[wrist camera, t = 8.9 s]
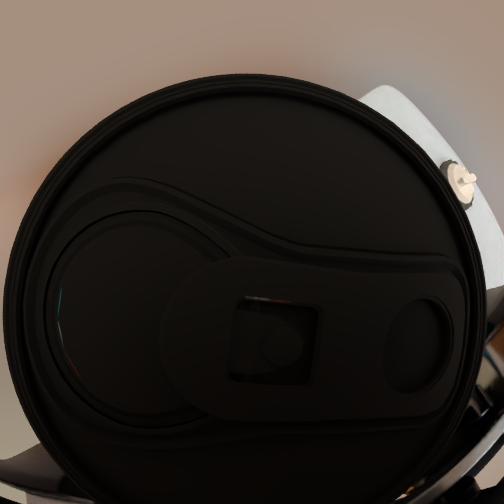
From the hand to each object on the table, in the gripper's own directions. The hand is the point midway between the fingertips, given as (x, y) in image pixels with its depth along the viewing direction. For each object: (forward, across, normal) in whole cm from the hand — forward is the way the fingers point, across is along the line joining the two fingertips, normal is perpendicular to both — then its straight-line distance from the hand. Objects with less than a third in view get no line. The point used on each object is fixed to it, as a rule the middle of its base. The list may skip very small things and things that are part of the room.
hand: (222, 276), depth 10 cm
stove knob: (+11, -34, +7) cm, 36 cm away
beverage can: (+4, 0, +6) cm, 8 cm away
